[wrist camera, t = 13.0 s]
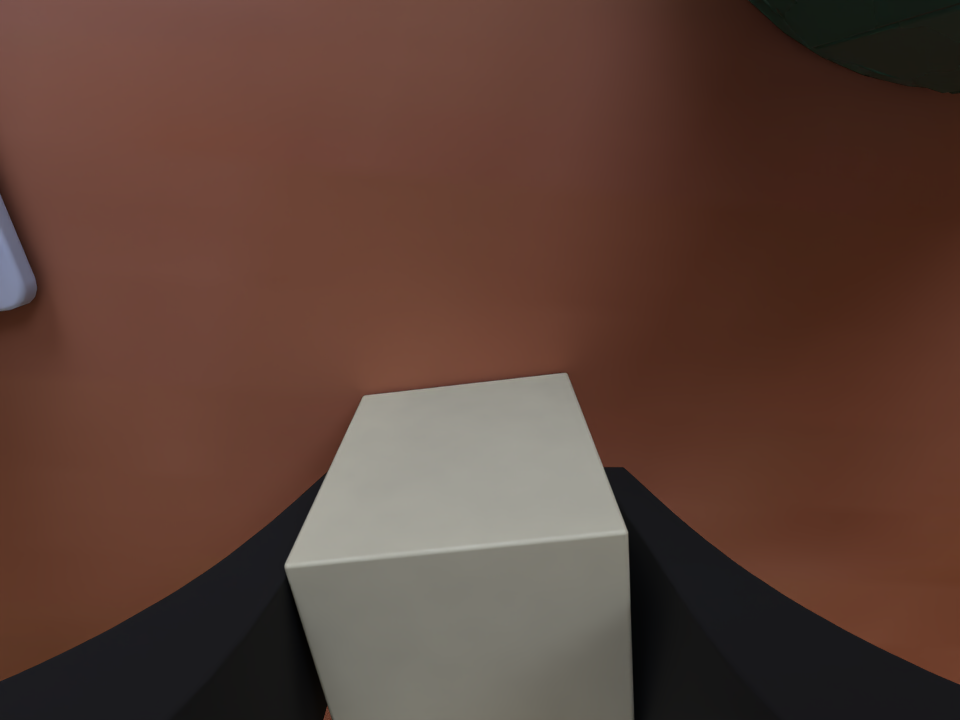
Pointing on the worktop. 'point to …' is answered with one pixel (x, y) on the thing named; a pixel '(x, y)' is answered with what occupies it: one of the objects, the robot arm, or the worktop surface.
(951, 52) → the tea tin
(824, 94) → the worktop surface
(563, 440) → the block
